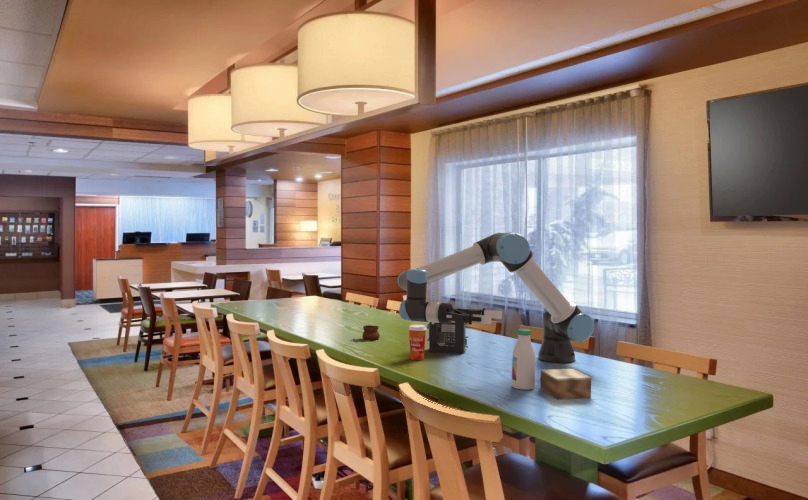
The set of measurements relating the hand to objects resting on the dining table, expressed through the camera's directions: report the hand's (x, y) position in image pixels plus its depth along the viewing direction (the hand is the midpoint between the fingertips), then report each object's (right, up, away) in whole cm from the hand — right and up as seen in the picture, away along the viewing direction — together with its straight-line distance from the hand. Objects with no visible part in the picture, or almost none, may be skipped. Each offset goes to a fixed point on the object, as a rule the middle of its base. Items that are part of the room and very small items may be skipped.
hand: (496, 317), depth 198 cm
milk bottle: (+9, -24, -4) cm, 26 cm away
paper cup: (-27, -22, +38) cm, 52 cm away
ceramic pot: (-49, -21, +81) cm, 97 cm away
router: (-13, -22, +55) cm, 61 cm away
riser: (+21, -24, -10) cm, 34 cm away
